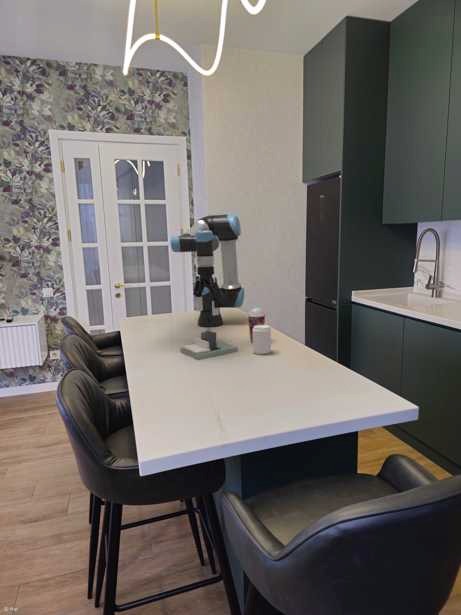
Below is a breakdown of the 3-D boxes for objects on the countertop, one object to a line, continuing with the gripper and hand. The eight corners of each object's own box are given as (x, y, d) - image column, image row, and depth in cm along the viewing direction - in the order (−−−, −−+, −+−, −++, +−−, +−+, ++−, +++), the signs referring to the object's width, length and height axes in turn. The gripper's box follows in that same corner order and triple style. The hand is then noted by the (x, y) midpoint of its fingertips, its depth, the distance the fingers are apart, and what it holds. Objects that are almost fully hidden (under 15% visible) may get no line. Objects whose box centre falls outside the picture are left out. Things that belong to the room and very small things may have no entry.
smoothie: (265, 339, 203) (264, 300, 199) (265, 343, 195) (264, 303, 191) (249, 339, 204) (248, 300, 200) (248, 344, 196) (247, 303, 192)
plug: (210, 349, 188) (210, 326, 186) (216, 351, 184) (215, 328, 182) (201, 351, 185) (200, 328, 183) (207, 353, 181) (206, 330, 179)
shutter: (195, 345, 188) (195, 337, 187) (210, 351, 177) (210, 342, 177) (182, 347, 184) (182, 339, 183) (196, 354, 173) (196, 345, 173)
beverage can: (269, 355, 176) (269, 328, 174) (251, 354, 178) (251, 328, 176) (271, 350, 184) (271, 324, 182) (254, 349, 185) (253, 324, 183)
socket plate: (218, 344, 197) (218, 340, 197) (237, 351, 184) (237, 346, 184) (180, 352, 185) (180, 347, 185) (198, 360, 172) (197, 355, 172)
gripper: (184, 265, 186) (186, 310, 190) (213, 267, 166) (215, 318, 169) (198, 264, 190) (200, 308, 194) (228, 266, 170) (230, 315, 174)
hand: (207, 312), depth 182 cm, fingers open, 13 cm apart
